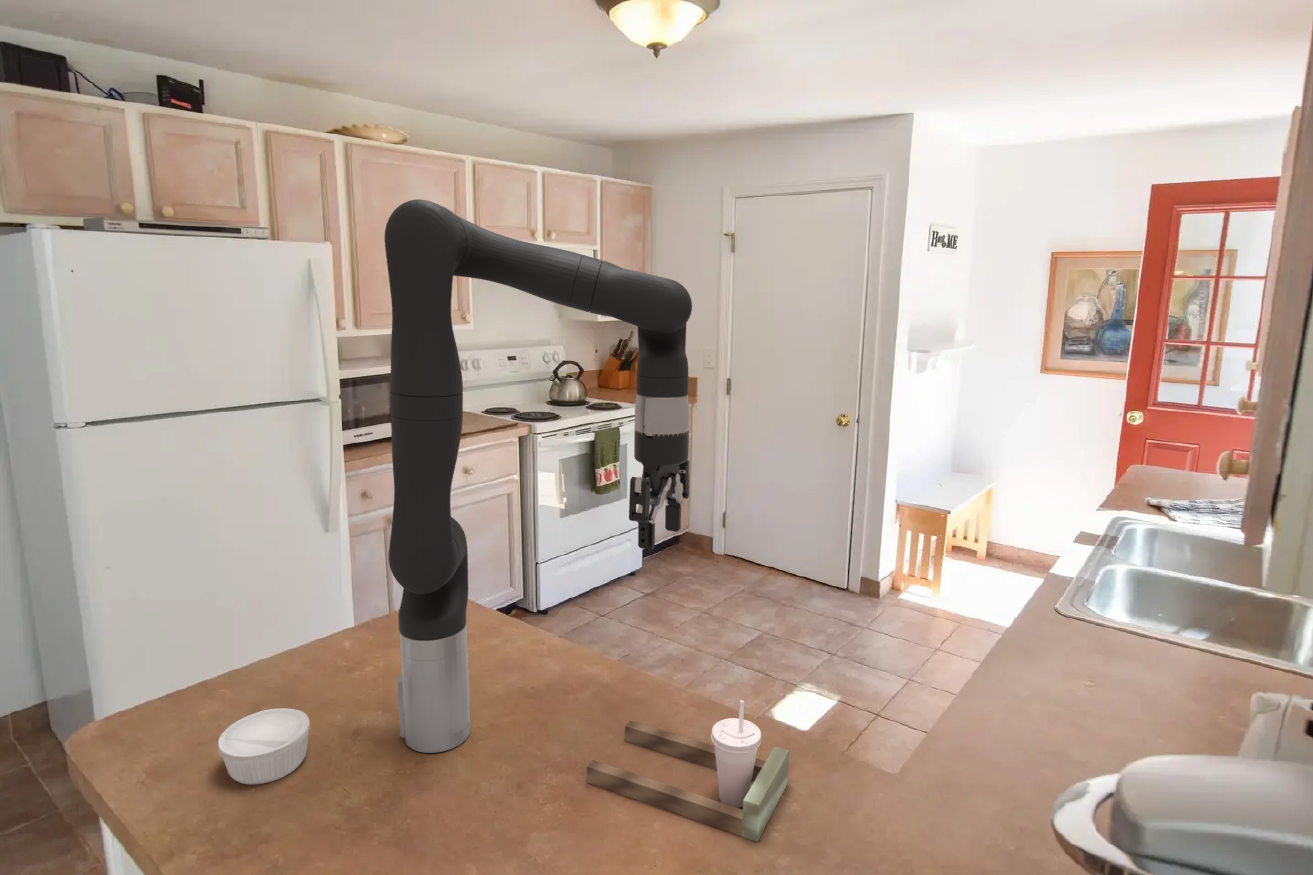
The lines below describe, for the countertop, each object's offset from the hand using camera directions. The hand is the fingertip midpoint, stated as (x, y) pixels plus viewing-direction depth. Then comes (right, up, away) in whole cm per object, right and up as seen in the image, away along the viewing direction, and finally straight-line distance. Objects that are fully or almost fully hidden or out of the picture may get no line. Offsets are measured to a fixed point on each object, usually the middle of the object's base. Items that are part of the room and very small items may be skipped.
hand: (660, 539), depth 108 cm
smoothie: (+10, -33, -9) cm, 35 cm away
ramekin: (-54, -31, -3) cm, 62 cm away
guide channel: (+4, -32, -6) cm, 33 cm away
